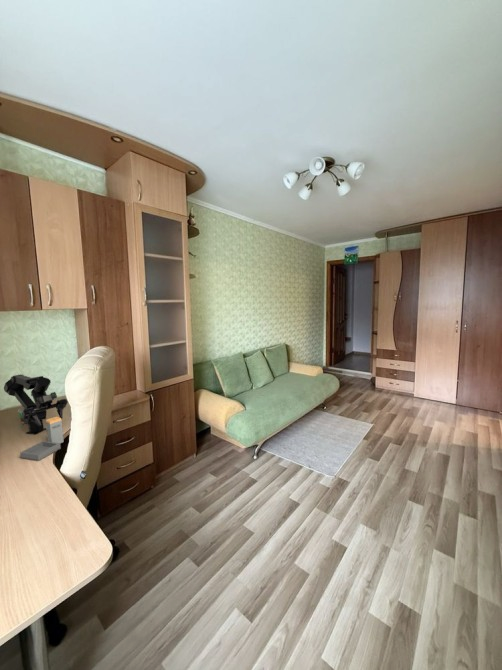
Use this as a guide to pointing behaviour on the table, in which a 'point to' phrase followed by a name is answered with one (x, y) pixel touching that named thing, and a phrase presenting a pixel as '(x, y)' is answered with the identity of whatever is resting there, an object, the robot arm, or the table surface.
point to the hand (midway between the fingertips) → (51, 422)
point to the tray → (40, 450)
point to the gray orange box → (54, 430)
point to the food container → (21, 415)
